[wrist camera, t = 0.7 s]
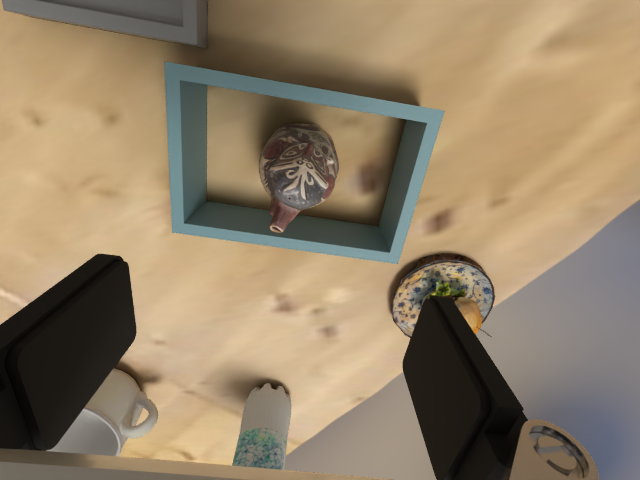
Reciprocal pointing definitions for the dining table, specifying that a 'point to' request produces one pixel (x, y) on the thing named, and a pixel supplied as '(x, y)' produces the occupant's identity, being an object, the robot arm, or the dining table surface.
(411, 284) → the burger
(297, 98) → the tub
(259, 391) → the bottle
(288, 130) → the figurine
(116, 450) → the teacup
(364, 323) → the dining table surface
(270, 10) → the dining table surface
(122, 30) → the tray
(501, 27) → the dining table surface
